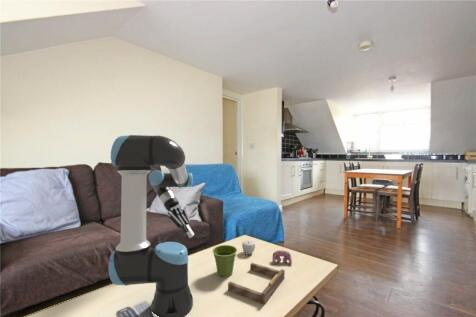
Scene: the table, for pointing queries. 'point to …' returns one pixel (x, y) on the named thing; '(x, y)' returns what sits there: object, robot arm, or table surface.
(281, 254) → the video game controller
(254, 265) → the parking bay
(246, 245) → the apple
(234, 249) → the plant pot
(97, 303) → the table surface
